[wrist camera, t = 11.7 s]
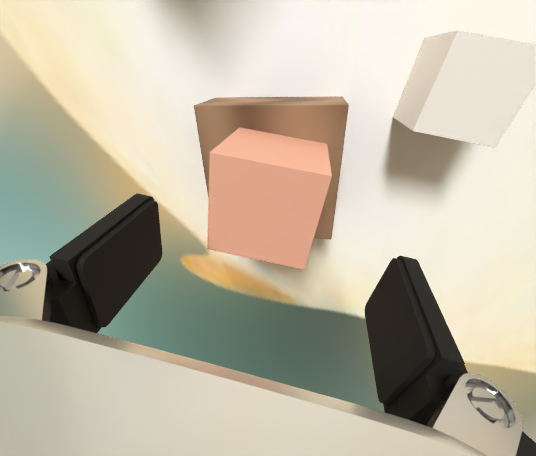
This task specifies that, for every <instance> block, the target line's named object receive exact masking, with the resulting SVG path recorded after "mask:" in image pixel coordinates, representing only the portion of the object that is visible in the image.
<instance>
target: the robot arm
mask: <svg viewBox="0 0 536 456" xmlns="http://www.w3.org/2000/svg"><path fill="white" fill-rule="evenodd" d="M161 257H162V245H161V234H160V223H159V212H158V204H157V202H156V201H154V199H153V197H150V196H146V195H142V194H136V195H134V196H133V197H131V198H130V199H128V200H127V201H126V202H124V203H123V204H122V205H120V206H119V207H117V208H116V209H114V210H113V211H112V212H110V213H109V214H108V215H106V216H105V217H103V218H102V219H101V220H99V221H98V222H96V223H95V224H94V225H92V226H91V227H90V228H88V229H87V230H85V231H84V232H83V233H81V234H80V235H79V236H77V237H76V238H74V239H73V240H72V241H70V242H69V243H68V244H66V245H65V246H63V247H62V248H61V249H59V250H58V251H56V252H55V253H54V254H52V255H51V256H50V259H51V261H50V262H48V263H47V264H46V265H45V264H44V263H43V262H41V261H39V260H32V259H25V260H17V261H13V262H9V263H7V264H4V265H2V266H0V456H536V443H535V442H534V441H533V440H532V439H531V438H529V437H528V436H527V435H526V434H525V433H524V432H523V431H522V430H523V420H522V417H521V415H520V412H519V410H518V409H517V407H516V406H515V404H514V402H513V401H512V400H511V398H510V397H509V396H508V395H507V394H506V393H505V392H504V391H503V390H502V389H501V388H500V387H499V386H498V385H496V384H495V383H493V382H492V381H490V380H489V379H487V378H485V377H483V376H481V375H479V374H473V373H468V372H467V370H466V368H465V365H464V364H465V363H464V361H463V359H462V356H461V354H460V352H459V350H458V348H457V345H456V343H455V341H454V339H453V337H452V335H451V332H450V330H449V328H448V326H447V324H446V321H445V319H444V317H443V315H442V313H441V311H440V308H439V306H438V304H437V302H436V300H435V298H434V295H433V293H432V291H431V289H430V287H429V284H428V282H427V280H426V278H425V276H424V274H423V271H422V269H421V267H420V265H419V263H418V261H417V260H416V259H412V258H408V257H404V256H399V257H397V259H396V258H393V259H392V260H391V262H390V263H389V265H388V267H387V269H386V270H385V272H384V274H383V276H382V277H381V279H380V281H379V283H378V284H377V286H376V288H375V290H374V291H373V293H372V295H371V297H370V298H369V300H368V302H367V304H366V306H365V317H366V324H367V330H368V336H369V343H370V349H371V355H372V362H373V368H374V374H375V381H376V387H377V393H378V399H379V401H380V402H381V403H383V404H384V410H385V413H384V412H381V411H377V410H374V409H371V408H367V407H364V406H361V405H357V404H354V403H351V402H346V401H343V400H340V399H336V398H332V397H329V396H325V395H322V394H318V393H314V392H311V391H307V390H304V389H300V388H297V387H293V386H289V385H286V384H282V383H279V382H275V381H272V380H268V379H264V378H261V377H257V376H253V375H250V374H246V373H242V372H239V371H235V370H231V369H228V368H224V367H220V366H217V365H213V364H209V363H206V362H202V361H198V360H195V359H191V358H187V357H184V356H180V355H176V354H172V353H169V352H165V351H161V350H158V349H154V348H150V347H146V346H143V345H139V344H135V343H132V342H128V341H124V340H120V339H117V338H113V337H109V336H105V335H102V334H97V332H98V331H99V330H100V329H101V327H106V326H107V325H108V324H109V323H110V322H111V321H112V319H113V318H114V317H115V316H116V314H117V313H118V312H119V311H120V310H121V308H122V307H123V306H124V305H125V303H126V302H127V301H128V300H129V298H130V297H131V296H132V295H133V293H134V292H135V291H136V290H137V288H138V287H139V286H140V285H141V284H142V282H143V281H144V280H145V279H146V277H147V276H148V275H149V274H150V272H151V271H152V270H153V269H154V268H155V266H156V265H157V264H158V263H159V261H160V259H161Z"/></svg>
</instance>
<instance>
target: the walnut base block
mask: <svg viewBox="0 0 536 456" xmlns="http://www.w3.org/2000/svg"><path fill="white" fill-rule="evenodd" d="M348 106H349V105H348V104H347V102H346V101H345V100H344V98H343V97H239V98H214V99H211V100H208V101H206V102H203V103H200V104H197V105H194V109H195V115H196V122H197V128H198V134H199V141H200V147H201V153H202V160H203V166H204V172H205V179H206V185H207V191H208V197H209V160H210V152H211V151H212V150H213V149H214V148H216V147H217V146H218V145H219V144H220V143H222V142H223V141H224V140H225V139H226V138H227V137H229V136H230V135H231V134H232V133H233V132H235V131H236V130H237V129H238V128H239V127H240V128H246V129H251V130H256V131H262V132H267V133H272V134H277V135H283V136H288V137H293V138H299V139H304V140H309V141H315V142H320V143H325V144H327V147H328V153H329V160H330V167H331V173H332V178H331V181H330V185H329V188H328V191H327V195H326V198H325V201H324V205H323V208H322V212H321V215H320V218H319V222H318V225H317V228H316V232H315V235H314V238H319V239H331V238H332V230H333V222H334V214H335V207H336V199H337V191H338V183H339V176H340V168H341V160H342V152H343V145H344V137H345V129H346V122H347V114H348Z"/></svg>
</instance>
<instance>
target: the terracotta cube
mask: <svg viewBox="0 0 536 456" xmlns="http://www.w3.org/2000/svg"><path fill="white" fill-rule="evenodd" d="M331 178H332V173H331V167H330V160H329V153H328V147H327V144H325V143H320V142H315V141H309V140H304V139H299V138H293V137H288V136H283V135H277V134H272V133H267V132H262V131H256V130H251V129H246V128H240V127H239V128H238V129H237V130H236V131H235V132H233V133H232V134H231V135H230V136H229V137H227V138H226V139H225V140H224V141H223V142H222V143H220V144H219V145H218V146H217V147H216V148H214V149H213V150H212V151H211V152H210V160H209V204H208V249H209V250H214V251H219V252H223V253H228V254H233V255H238V256H242V257H247V258H252V259H256V260H261V261H266V262H270V263H275V264H280V265H284V266H289V267H294V268H298V269H303V270H304V269H305V265H306V262H307V259H308V255H309V252H310V249H311V245H312V242H313V238H314V235H315V232H316V228H317V225H318V222H319V218H320V215H321V212H322V208H323V205H324V201H325V198H326V195H327V191H328V188H329V185H330V181H331Z"/></svg>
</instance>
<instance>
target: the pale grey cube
mask: <svg viewBox="0 0 536 456" xmlns="http://www.w3.org/2000/svg"><path fill="white" fill-rule="evenodd" d="M535 85H536V45H534V44H529V43H523V42H518V41H513V40H507V39H502V38H496V37H491V36H486V35H480V34H475V33H470V32H464V31H459V30H458V31H453V32H449V33H444V34H440V35H435V36H431V37H426V38H424V41H423V43H422V46H421V48H420V50H419V53H418V55H417V58H416V60H415V63H414V65H413V68H412V70H411V73H410V75H409V78H408V80H407V83H406V85H405V88H404V90H403V93H402V95H401V98H400V100H399V103H398V105H397V108H396V110H395V113H394V115H393V117H394V118H395V119H396V120H398V121H399V122H401V123H402V124H403V125H405V126H406V127H408V128H409V129H411V130H412V131H415V132H420V133H425V134H430V135H435V136H440V137H445V138H450V139H455V140H459V141H464V142H469V143H474V144H479V145H484V146H489V147H494V148H495V147H496V145H497V144H498V142H499V140H500V139H501V137H502V136H503V134H504V133H505V131H506V130H507V128H508V127H509V125H510V123H511V122H512V120H513V119H514V117H515V116H516V114H517V113H518V111H519V109H520V108H521V106H522V105H523V103H524V102H525V100H526V99H527V97H528V95H529V94H530V92H531V91H532V89H533V88H534V86H535Z"/></svg>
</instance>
